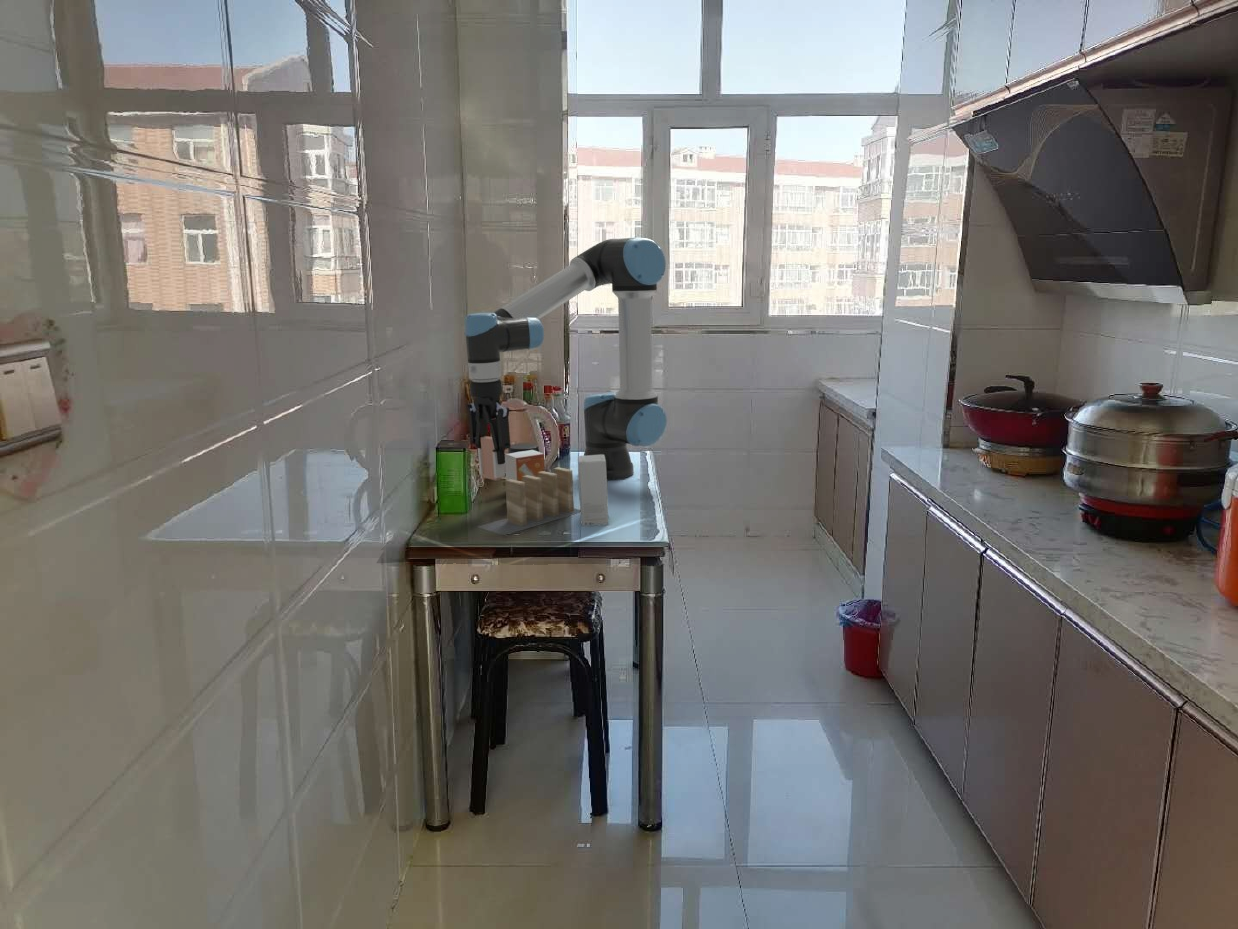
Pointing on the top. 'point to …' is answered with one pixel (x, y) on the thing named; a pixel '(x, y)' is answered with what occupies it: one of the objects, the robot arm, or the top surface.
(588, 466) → the skincare box
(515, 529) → the mat
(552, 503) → the domino
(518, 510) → the domino
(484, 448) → the domino
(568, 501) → the domino
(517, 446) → the jar
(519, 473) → the small box
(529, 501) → the domino
